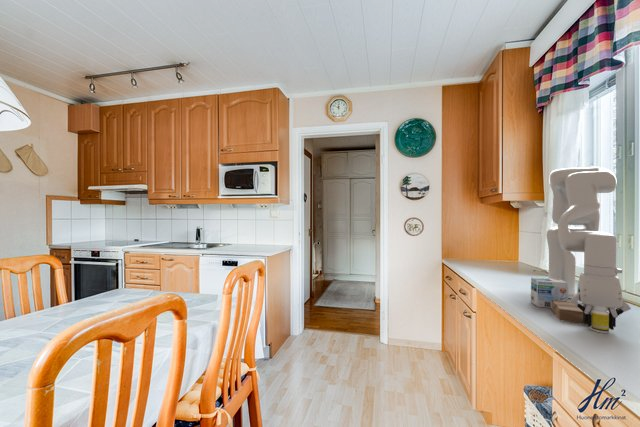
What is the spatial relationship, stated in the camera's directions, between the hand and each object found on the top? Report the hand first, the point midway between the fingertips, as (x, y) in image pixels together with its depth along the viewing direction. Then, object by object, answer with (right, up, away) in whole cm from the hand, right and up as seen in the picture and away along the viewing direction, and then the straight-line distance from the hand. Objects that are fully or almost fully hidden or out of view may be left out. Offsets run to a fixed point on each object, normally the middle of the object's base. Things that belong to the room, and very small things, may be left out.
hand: (598, 326), depth 94 cm
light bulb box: (+3, -1, +25) cm, 25 cm away
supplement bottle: (0, -2, 0) cm, 2 cm away
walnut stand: (+3, -1, +11) cm, 11 cm away
